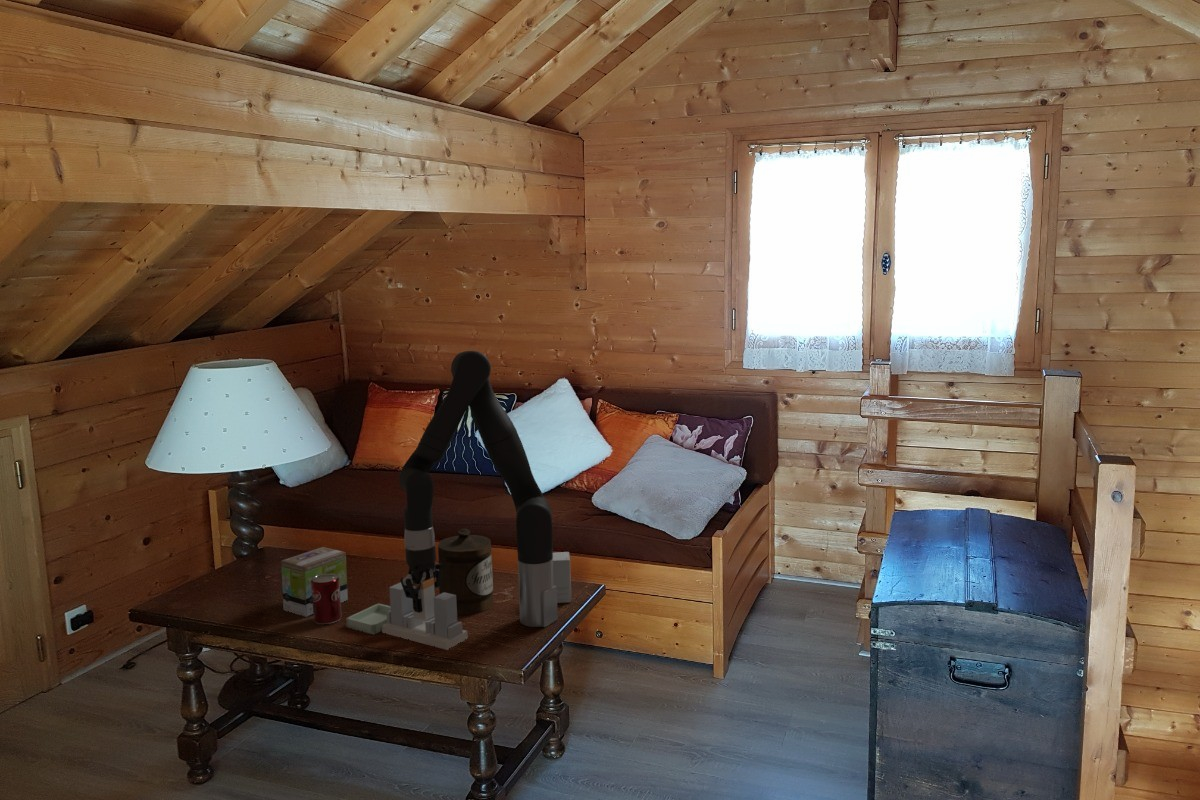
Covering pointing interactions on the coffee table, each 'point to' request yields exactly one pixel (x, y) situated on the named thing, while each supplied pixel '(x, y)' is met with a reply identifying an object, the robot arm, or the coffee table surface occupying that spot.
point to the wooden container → (467, 571)
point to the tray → (369, 619)
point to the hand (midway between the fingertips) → (424, 608)
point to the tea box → (310, 577)
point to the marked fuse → (426, 600)
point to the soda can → (326, 598)
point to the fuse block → (432, 632)
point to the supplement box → (562, 576)
